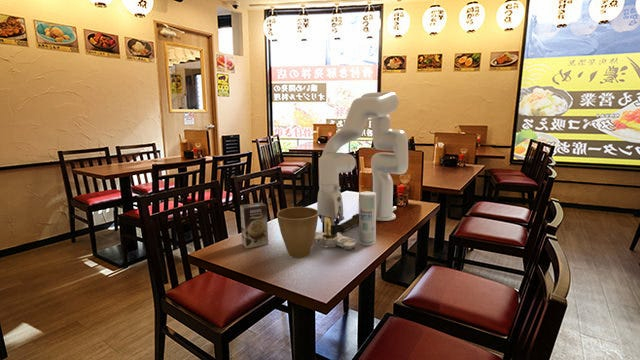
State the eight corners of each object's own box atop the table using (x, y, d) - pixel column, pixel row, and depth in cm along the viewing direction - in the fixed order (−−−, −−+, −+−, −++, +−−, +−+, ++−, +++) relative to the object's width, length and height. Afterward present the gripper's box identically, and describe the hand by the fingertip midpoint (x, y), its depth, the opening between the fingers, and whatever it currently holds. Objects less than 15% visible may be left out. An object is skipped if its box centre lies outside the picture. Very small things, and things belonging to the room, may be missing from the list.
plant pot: (275, 249, 134) (273, 209, 131) (313, 244, 138) (312, 205, 135) (282, 265, 120) (280, 220, 117) (324, 259, 124) (323, 215, 121)
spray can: (377, 240, 141) (377, 191, 137) (374, 246, 135) (374, 195, 131) (361, 238, 143) (361, 190, 140) (357, 244, 137) (357, 194, 134)
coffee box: (246, 249, 135) (243, 208, 132) (241, 243, 141) (239, 204, 138) (269, 244, 140) (267, 205, 137) (263, 239, 145) (261, 201, 142)
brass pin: (329, 238, 142) (329, 214, 140) (336, 240, 139) (336, 216, 138) (322, 241, 139) (322, 216, 138) (329, 243, 137) (329, 218, 135)
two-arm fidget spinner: (316, 233, 151) (315, 226, 151) (361, 246, 135) (361, 239, 134) (300, 239, 145) (300, 232, 144) (346, 253, 128) (346, 246, 128)
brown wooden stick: (343, 234, 150) (343, 224, 149) (335, 232, 152) (335, 222, 151) (365, 223, 165) (365, 213, 164) (358, 221, 167) (358, 212, 166)
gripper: (352, 188, 133) (352, 235, 136) (320, 183, 144) (321, 226, 147) (339, 192, 127) (340, 240, 131) (306, 186, 139) (308, 231, 142)
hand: (330, 232), depth 139 cm, fingers closed on brass pin, 3 cm apart
